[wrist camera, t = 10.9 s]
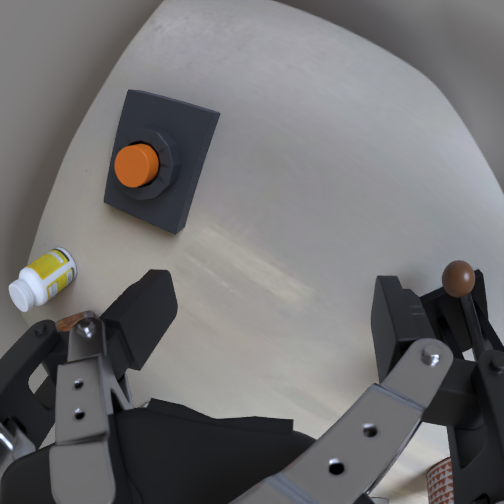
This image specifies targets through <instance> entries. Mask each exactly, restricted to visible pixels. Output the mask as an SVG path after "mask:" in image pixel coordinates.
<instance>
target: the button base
mask: <svg viewBox="0 0 504 504" xmlns="http://www.w3.org/2000/svg"><path fill="white" fill-rule="evenodd" d="M219 116H220V113H219V112H216V111H212V110H209V109H206V108H203V107H200V106H196V105H193V104H190V103H186V102H183V101H179V100H176V99H172V98H168V97H164V96H161V95H157V94H153V93H149V92H145V91H141V90H128V92H127V95H126V99H125V102H124V106H123V110H122V114H121V117H120V121H119V125H118V130H117V134H116V138H115V143H114V147H113V152H112V157H111V162H110V167H109V172H108V178H107V184H106V190H105V196H104V203H106V204H108V205H111V206H113V207H115V208H117V209H119V210H122V211H124V212H126V213H128V214H130V215H133V216H135V217H137V218H139V219H142V220H144V221H146V222H148V223H150V224H153V225H155V226H157V227H159V228H162V229H164V230H166V231H168V232H171V233H173V234H175V235H176V234H177V233H178V232H179V231H180V230H182V229H183V228H184V227H185V223H186V220H187V216H188V213H189V209H190V206H191V203H192V199H193V196H194V193H195V189H196V186H197V183H198V179H199V176H200V173H201V170H202V167H203V164H204V160H205V157H206V154H207V151H208V148H209V145H210V142H211V139H212V136H213V133H214V130H215V127H216V125H217V122H218V119H219ZM136 144H145V145H148V146H150V147H151V148H152V149H153V150H154V151H155V153H156V155H157V157H158V162H159V166H158V171H157V174H156V176H155V177H154V178H153V179H152V180H151V181H150V182H147V183H145V184H143V185H141V186H138V187H128V186H125V185H124V184H122V183H121V182H120V180H119V179H118V177H117V175H116V172H115V159H116V156H117V155H118V153H119V152H120V151H121V150H122V149H123V148H125V147H127V146H132V145H136Z"/></svg>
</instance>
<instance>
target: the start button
mask: <svg viewBox="0 0 504 504" xmlns="http://www.w3.org/2000/svg"><path fill="white" fill-rule="evenodd" d="M158 166H159V162H158V157H157V155H156V153H155V151H154V150H153V149H152V148H151V147H150V146H148V145H145V144H136V145H132V146H127V147H125V148H123V149H122V150H121V151H120V152H119V153H118V155H117V156H116V159H115V172H116V175H117V177H118V179H119V180H120V182H121V183H122V184H124V185H125V186H128V187H138V186H141V185H143V184H145V183H147V182H150V181H151V180H152V179H153V178H154V177H155V176H156V174H157V171H158Z"/></svg>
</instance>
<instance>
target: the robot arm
mask: <svg viewBox="0 0 504 504" xmlns="http://www.w3.org/2000/svg"><path fill="white" fill-rule="evenodd" d="M177 309H178V305H177V299H176V295H175V291H174V287H173V282H172V278H171V274H170V272H169V271H168V270H153V269H151V270H149V271H148V272H147V273H146V274H145V275H144V276H143V277H142V278H141V279H140V280H139V281H137V282H136V283H134V284H132V285H131V286H129V287H128V288H127V289H126V290H125V291H124V292H123V293H122V295H120V296H119V297H118V298H117V300H115V301H114V302H113V303H112V304H111V305H110V307H109V308H108V309H107V310H106V311H105V312H104V313H103V314H102V315H101V316H100V317H99V318H98V317H88V318H85V319H82V320H80V321H78V322H77V323H76V324H74V325H73V326H72V328H71V330H70V331H58V329H57V327H56V324H55V322H54V321H52V320H43V321H40V322H37V323H36V324H34V325H33V326H31V327H30V328H29V329H28V330H27V331H26V332H25V333H24V334H23V336H21V338H20V339H19V340H18V341H17V342H16V343H15V344H14V345H13V346H12V347H11V348H10V349H9V350H8V351H7V352H6V353H5V355H4V356H3V357H2V358H1V359H0V504H375V503H374V502H373V500H372V499H371V498H370V497H369V496H368V495H369V494H370V493H371V492H372V491H373V490H374V489H375V487H376V486H377V485H378V484H379V483H380V481H381V480H382V479H383V478H384V476H385V475H386V474H387V472H388V471H389V470H390V468H391V467H392V466H393V464H394V463H395V461H396V460H397V459H398V457H399V456H400V455H401V453H402V452H403V451H404V449H405V448H406V446H407V445H408V443H409V442H410V441H411V439H412V438H413V436H414V435H415V433H416V432H417V430H418V429H419V427H420V425H421V424H422V422H426V423H431V424H437V425H442V426H446V427H447V434H448V441H449V449H450V457H451V468H452V480H453V498H454V504H504V352H501V351H498V350H487V351H484V352H483V353H482V354H481V355H480V356H479V358H478V360H477V362H474V361H468V360H462V359H458V358H455V357H453V353H452V351H451V349H450V348H449V347H448V346H447V345H446V344H445V343H443V342H441V341H439V340H436V337H435V335H434V332H433V330H432V327H431V325H430V322H429V320H428V317H427V315H426V313H425V310H424V308H423V306H422V303H421V301H420V299H419V297H418V296H417V295H416V294H415V293H414V292H413V291H412V290H410V289H402V287H401V284H400V282H399V279H398V277H397V276H377V278H376V283H375V290H374V298H373V305H372V311H371V329H372V335H373V341H374V348H375V354H376V361H377V368H378V376H379V384H380V385H378V384H376V383H374V384H372V385H371V386H370V387H369V388H368V389H367V390H366V391H365V392H364V393H363V394H362V396H361V397H360V398H359V399H358V400H357V401H356V402H355V403H354V404H353V405H352V406H351V407H350V408H349V409H348V410H347V411H346V413H345V414H344V415H343V416H342V417H341V418H340V419H339V420H338V421H337V422H336V423H335V424H334V425H333V426H332V427H331V428H329V429H328V430H327V431H326V432H325V433H324V434H323V435H322V436H321V437H320V438H319V439H318V440H316V439H314V438H312V437H310V436H308V435H306V434H303V433H301V432H297V431H294V430H293V420H291V419H278V418H267V417H257V416H253V417H240V418H224V419H215V418H211V417H209V416H206V415H204V414H202V413H199V412H197V411H195V410H193V409H190V408H188V407H186V406H184V405H181V404H176V403H171V402H167V401H162V400H158V399H154V398H151V400H150V402H149V404H148V405H147V407H141V408H134V404H133V400H132V395H131V391H130V386H129V381H128V377H127V374H126V372H125V371H126V370H127V369H128V368H130V369H134V370H139V371H140V370H141V368H142V367H143V365H144V364H145V362H146V361H147V359H148V358H149V356H150V355H151V353H152V352H153V350H154V349H155V347H156V346H157V344H158V343H159V341H160V340H161V338H162V336H163V335H164V333H165V332H166V330H167V329H168V327H169V326H170V324H171V323H172V321H173V320H174V319H175V317H176V314H177ZM40 363H42V365H43V367H44V369H45V370H46V372H47V374H48V377H47V378H46V379H45V381H44V382H43V383H42V384H41V386H40V387H39V388H38V390H37V391H36V392H35V394H33V393H32V391H31V390H30V388H29V385H28V381H29V377H30V375H31V374H32V373H33V372H34V370H35V369H36V368H37V367H38V366H39V364H40ZM54 423H55V443H53V444H50V445H48V446H46V447H44V448H41V449H39V447H40V446H41V444H42V442H43V441H44V439H45V438H46V436H47V434H48V433H49V431H50V429H51V428H52V427H53V425H54ZM38 449H39V450H38Z"/></svg>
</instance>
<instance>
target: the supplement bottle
mask: <svg viewBox="0 0 504 504" xmlns="http://www.w3.org/2000/svg"><path fill="white" fill-rule="evenodd" d="M76 273H77V271H76V265H75V263H74V260H73V259H72V257H71V256H70V254H69V253H68V252H67V251H66V250H64V249H63V248H59V247H57V248H54V249H52V250H51V251H49V252H47V253H46V254H44V255H43V256H41V257H40V258H38V259H37V260H35V261H34V262H32V263H31V264H29V265H28V266H26V267H25V268H24V269H22V270H21V272H20V274H19V279H18V280H15V281H14V282H13V283H12V284H10V286H9V293H10V296H11V298H12V300H13V302H14V304H15V305H16V306H17V307H18V309H20V310H21V311H23V312H27V311H28V310H29V309H31V308H32V307H33V306H34V305H36V306H41V305H44V304H45V303H46V302H48V301H49V300H50V299H51V298H52V297H54V296H55V295H56V294H57V293H58V292H60V291H61V290H62V289H63V288H65V287H66V286H67V285H68V284H70V283H71V282H72V281H73V280H74V279H75V277H76Z"/></svg>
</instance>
